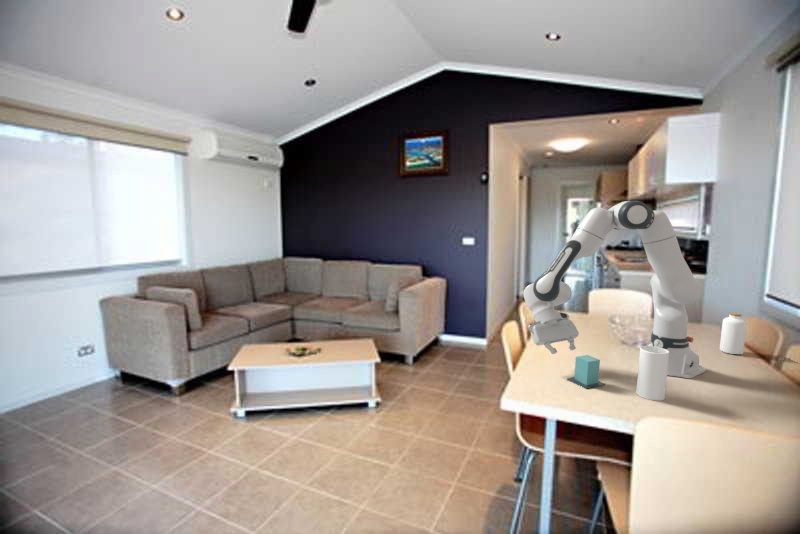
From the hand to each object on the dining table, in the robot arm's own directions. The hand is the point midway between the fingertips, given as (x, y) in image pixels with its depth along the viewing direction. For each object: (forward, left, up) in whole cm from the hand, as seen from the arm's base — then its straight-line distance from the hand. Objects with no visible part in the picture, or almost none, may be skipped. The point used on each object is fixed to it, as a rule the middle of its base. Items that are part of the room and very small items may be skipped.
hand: (564, 351), depth 157 cm
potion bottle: (-89, +9, -8) cm, 90 cm away
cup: (-12, +27, -8) cm, 31 cm away
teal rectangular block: (0, +11, -8) cm, 14 cm away
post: (0, +11, -8) cm, 14 cm away
